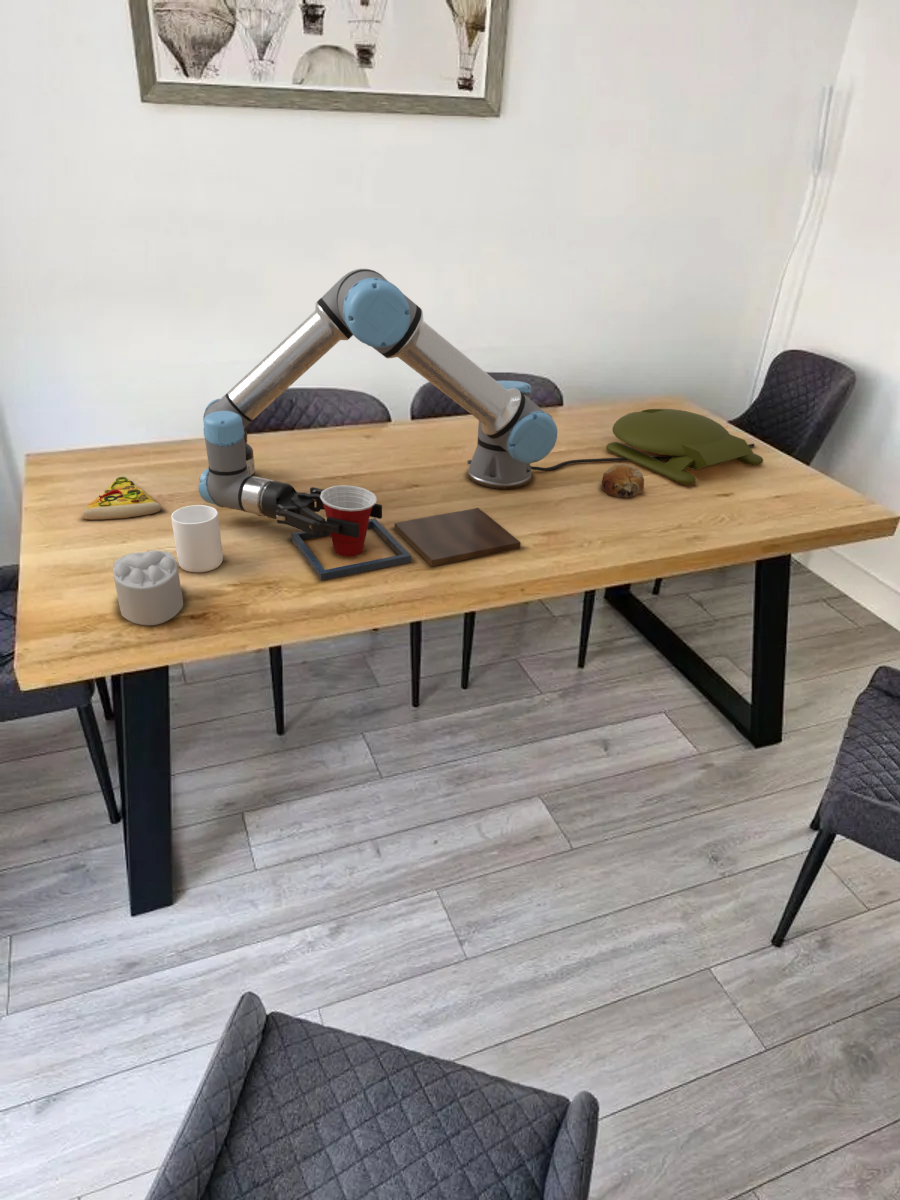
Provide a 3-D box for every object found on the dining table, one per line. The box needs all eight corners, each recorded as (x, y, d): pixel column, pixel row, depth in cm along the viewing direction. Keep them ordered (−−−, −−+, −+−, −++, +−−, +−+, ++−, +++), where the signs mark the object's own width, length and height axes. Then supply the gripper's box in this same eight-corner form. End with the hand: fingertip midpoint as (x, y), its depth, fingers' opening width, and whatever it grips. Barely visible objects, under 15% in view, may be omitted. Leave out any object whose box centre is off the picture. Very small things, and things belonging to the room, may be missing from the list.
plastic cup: (368, 566, 158) (367, 509, 152) (314, 559, 159) (311, 502, 153) (383, 542, 167) (383, 487, 161) (332, 535, 169) (330, 481, 162)
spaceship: (766, 465, 212) (775, 429, 207) (685, 489, 197) (692, 450, 192) (665, 426, 236) (671, 392, 231) (586, 444, 221) (590, 408, 216)
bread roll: (642, 503, 197) (650, 470, 196) (636, 500, 188) (644, 465, 187) (602, 495, 201) (610, 462, 200) (594, 491, 191) (602, 457, 190)
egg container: (179, 583, 150) (172, 541, 145) (186, 619, 139) (180, 575, 135) (118, 592, 146) (110, 549, 142) (122, 630, 136) (112, 584, 132)
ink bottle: (218, 485, 188) (212, 435, 182) (211, 471, 195) (205, 423, 189) (260, 480, 192) (256, 430, 186) (252, 466, 199) (248, 418, 193)
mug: (168, 550, 160) (160, 502, 155) (210, 542, 164) (204, 494, 159) (185, 577, 152) (177, 527, 146) (229, 567, 155) (223, 518, 150)
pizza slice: (83, 523, 169) (80, 510, 168) (86, 484, 186) (83, 472, 184) (161, 515, 174) (159, 502, 172) (158, 478, 191) (156, 466, 189)
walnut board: (477, 513, 180) (478, 507, 180) (520, 548, 167) (520, 541, 166) (394, 529, 172) (394, 522, 171) (431, 567, 159) (431, 560, 158)
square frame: (375, 524, 174) (375, 518, 173) (411, 562, 160) (411, 555, 159) (291, 539, 166) (290, 532, 166) (321, 580, 153) (321, 573, 152)
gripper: (300, 496, 176) (394, 517, 168) (240, 536, 158) (342, 561, 151) (298, 463, 172) (394, 483, 165) (236, 501, 155) (341, 525, 147)
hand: (369, 521), depth 158 cm, fingers closed on plastic cup, 9 cm apart
